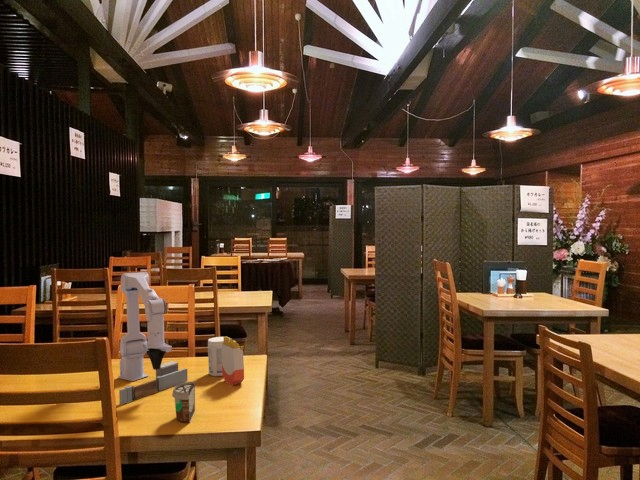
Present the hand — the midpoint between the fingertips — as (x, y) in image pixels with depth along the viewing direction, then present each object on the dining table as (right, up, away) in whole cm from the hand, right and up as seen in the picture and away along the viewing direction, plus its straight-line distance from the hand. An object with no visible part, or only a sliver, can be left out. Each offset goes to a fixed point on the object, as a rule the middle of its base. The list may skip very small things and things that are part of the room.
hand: (156, 369), depth 176 cm
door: (-5, -10, 0) cm, 11 cm away
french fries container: (+26, -9, +14) cm, 31 cm away
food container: (+15, -11, -20) cm, 28 cm away
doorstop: (-3, -10, +20) cm, 23 cm away
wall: (-2, -10, +5) cm, 11 cm away
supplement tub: (+18, -9, +26) cm, 33 cm away
